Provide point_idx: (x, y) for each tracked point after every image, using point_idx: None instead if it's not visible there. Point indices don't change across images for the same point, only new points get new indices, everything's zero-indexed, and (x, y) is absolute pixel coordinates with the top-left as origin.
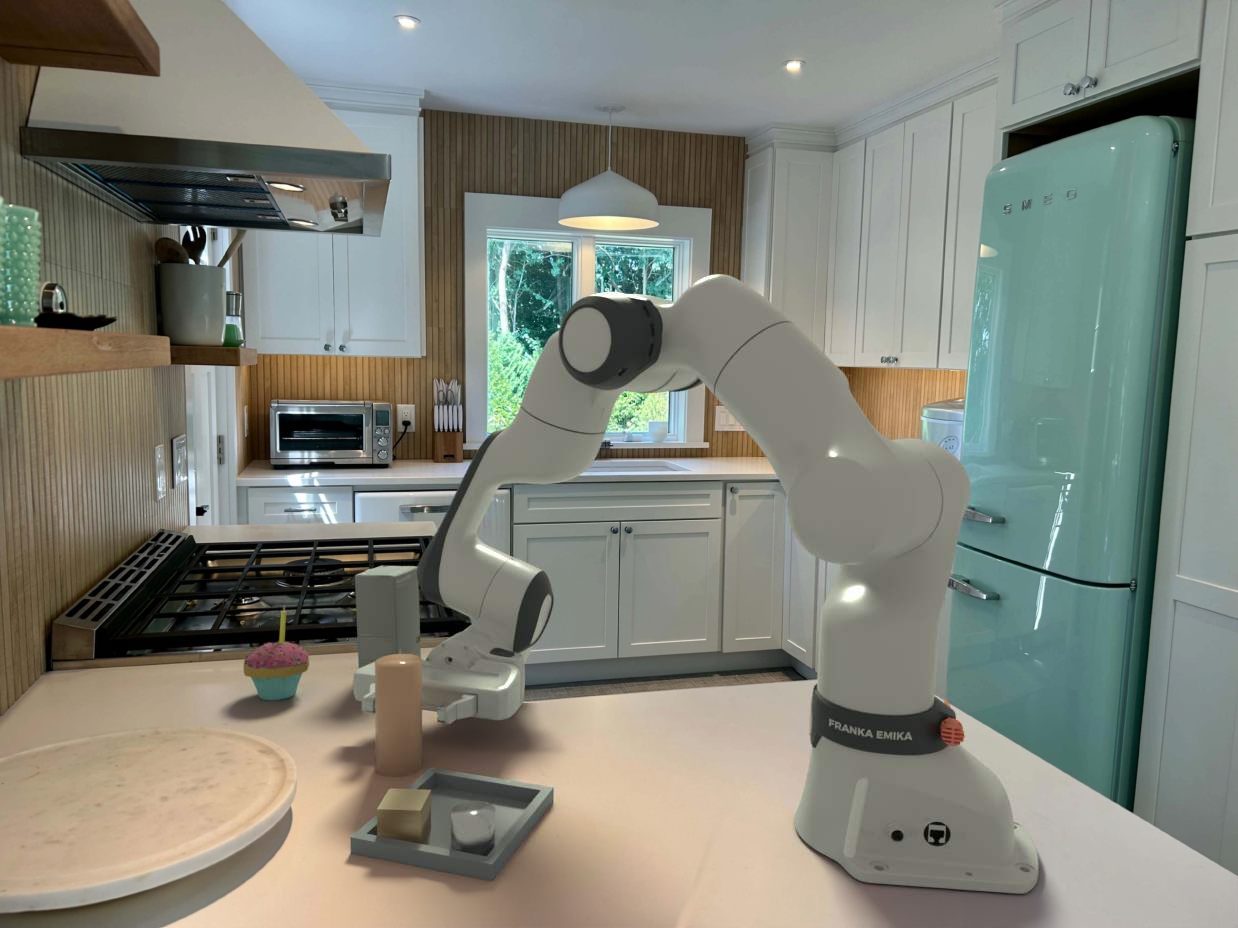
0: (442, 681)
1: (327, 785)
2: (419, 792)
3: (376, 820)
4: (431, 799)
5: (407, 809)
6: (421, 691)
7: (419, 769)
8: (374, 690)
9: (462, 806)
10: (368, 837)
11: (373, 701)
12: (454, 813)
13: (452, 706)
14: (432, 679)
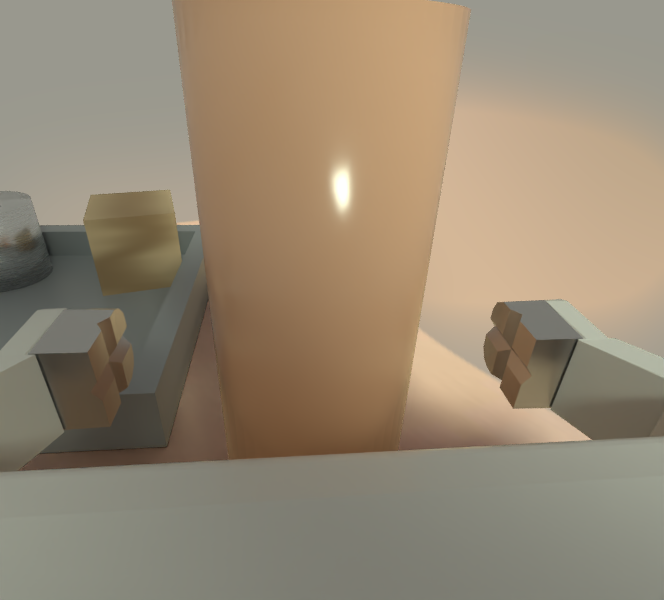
0: (158, 500)
1: (443, 384)
2: (106, 214)
3: (195, 248)
4: None
5: (115, 193)
6: (199, 210)
7: None
8: (616, 354)
9: (6, 206)
10: (187, 227)
11: (495, 308)
12: (23, 198)
13: (22, 326)
14: (311, 511)
